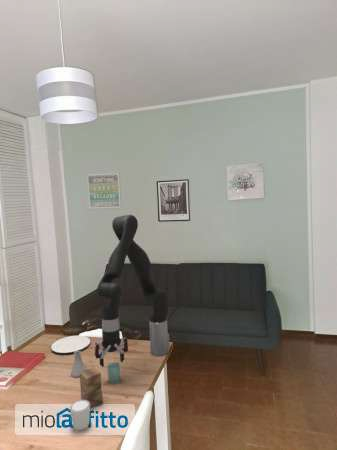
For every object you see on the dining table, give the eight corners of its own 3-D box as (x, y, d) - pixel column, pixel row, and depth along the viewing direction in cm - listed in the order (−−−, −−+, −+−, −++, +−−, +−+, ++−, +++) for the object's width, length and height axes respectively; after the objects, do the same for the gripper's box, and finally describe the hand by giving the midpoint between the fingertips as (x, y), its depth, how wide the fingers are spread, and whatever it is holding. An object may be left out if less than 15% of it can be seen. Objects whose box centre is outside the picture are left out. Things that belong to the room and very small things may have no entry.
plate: (84, 355, 162) (84, 351, 162) (44, 356, 162) (44, 353, 162) (94, 337, 183) (94, 334, 182) (59, 339, 183) (59, 335, 183)
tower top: (94, 381, 126) (93, 367, 126) (101, 387, 122) (100, 372, 122) (80, 387, 123) (79, 372, 122) (87, 394, 118) (86, 378, 118)
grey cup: (73, 418, 113) (72, 400, 113) (92, 416, 114) (91, 398, 113) (69, 432, 107) (67, 412, 106) (89, 430, 107) (88, 410, 107)
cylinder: (118, 376, 140) (117, 361, 140) (121, 381, 136) (120, 366, 135) (107, 379, 138) (106, 364, 138) (110, 385, 134) (109, 369, 133)
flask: (82, 378, 140) (81, 357, 139) (67, 377, 141) (66, 356, 140) (89, 369, 147) (88, 349, 146) (75, 368, 148) (74, 348, 147)
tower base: (98, 394, 127) (97, 380, 127) (102, 404, 121) (101, 389, 121) (81, 399, 124) (80, 385, 124) (84, 409, 118) (83, 394, 118)
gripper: (124, 321, 142) (125, 356, 143) (92, 327, 136) (94, 363, 137) (129, 327, 135) (130, 363, 136) (96, 334, 129) (97, 371, 130)
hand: (112, 363), depth 136 cm, fingers open, 8 cm apart
